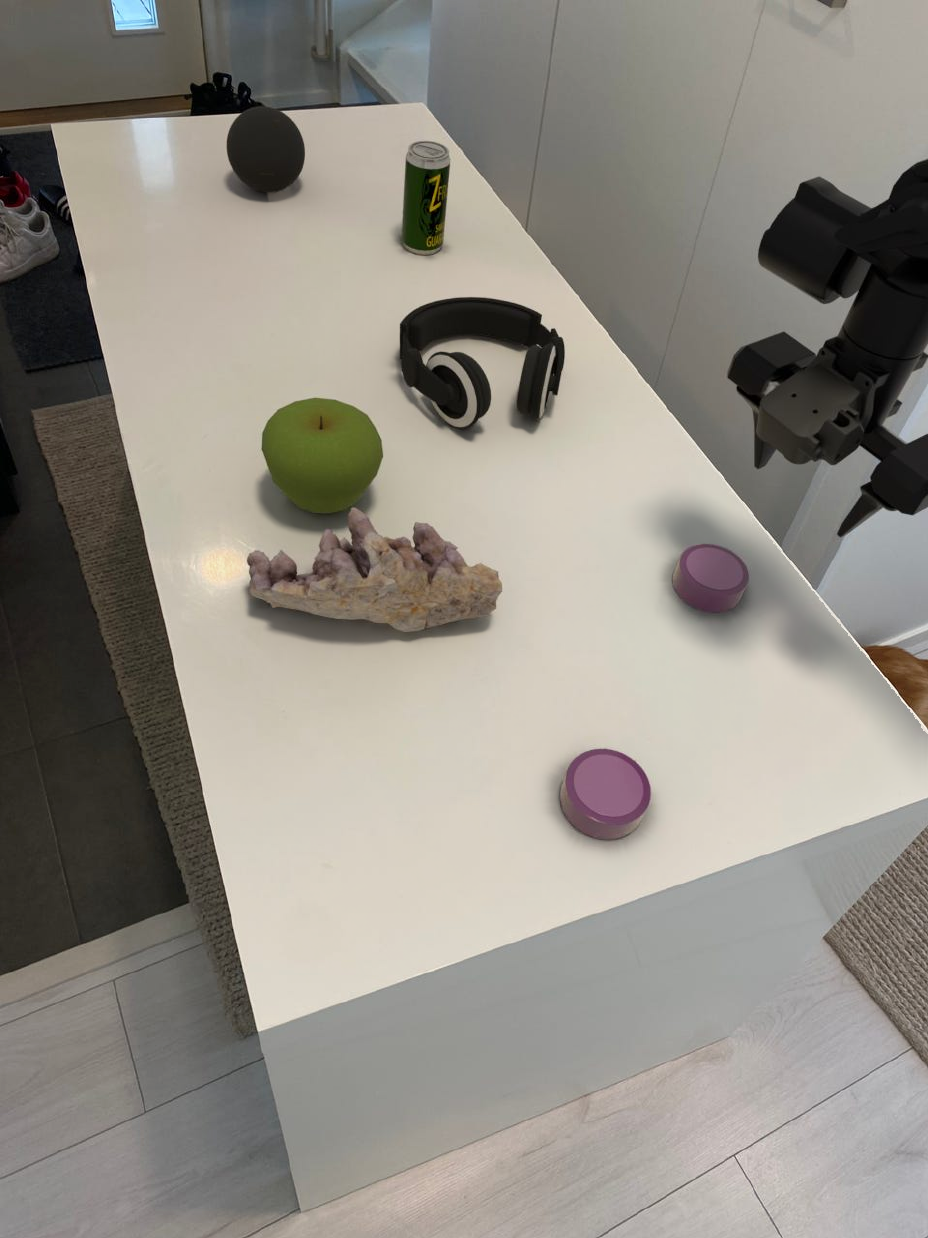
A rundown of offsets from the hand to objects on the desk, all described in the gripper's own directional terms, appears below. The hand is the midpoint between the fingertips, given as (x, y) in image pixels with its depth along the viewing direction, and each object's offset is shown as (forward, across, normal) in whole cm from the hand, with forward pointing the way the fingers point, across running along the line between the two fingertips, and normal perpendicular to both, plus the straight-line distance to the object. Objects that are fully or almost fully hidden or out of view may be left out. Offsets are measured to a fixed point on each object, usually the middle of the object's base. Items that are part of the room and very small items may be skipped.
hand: (799, 499), depth 77 cm
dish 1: (+12, +9, -26) cm, 30 cm away
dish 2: (+12, -3, -3) cm, 13 cm away
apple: (+12, -30, -28) cm, 43 cm away
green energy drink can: (+12, -65, +6) cm, 66 cm away
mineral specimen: (+12, -16, -31) cm, 37 cm away
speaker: (+12, -86, -5) cm, 87 cm away
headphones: (+12, -38, -4) cm, 40 cm away
